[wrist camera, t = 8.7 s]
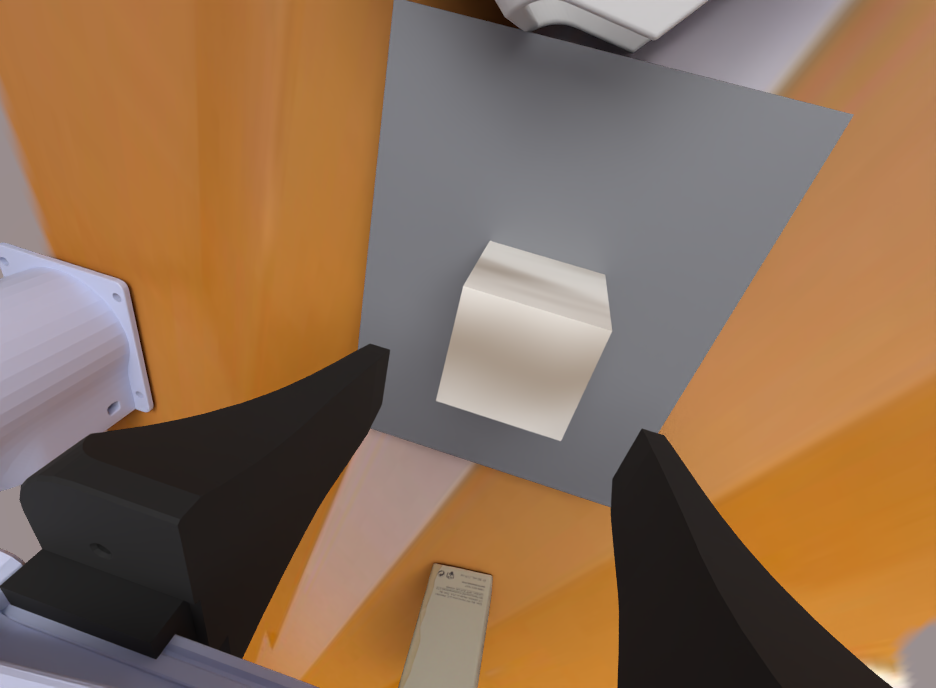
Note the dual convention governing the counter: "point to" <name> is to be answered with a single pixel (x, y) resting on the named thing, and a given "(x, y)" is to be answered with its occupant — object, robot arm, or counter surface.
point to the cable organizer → (603, 17)
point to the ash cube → (525, 340)
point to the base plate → (569, 221)
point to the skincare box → (449, 630)
